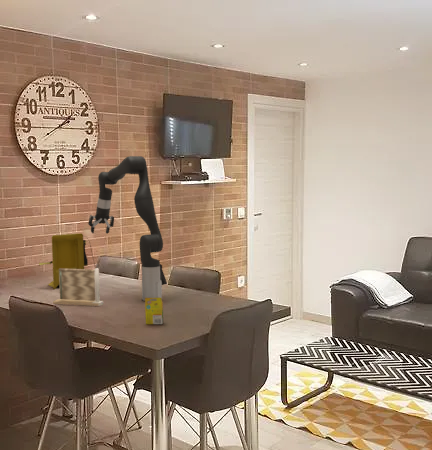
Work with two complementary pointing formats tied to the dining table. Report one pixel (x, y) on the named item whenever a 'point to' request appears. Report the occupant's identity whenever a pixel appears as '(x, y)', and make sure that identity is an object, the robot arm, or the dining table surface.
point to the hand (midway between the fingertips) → (99, 233)
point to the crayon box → (154, 311)
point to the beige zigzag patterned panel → (77, 284)
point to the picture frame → (82, 302)
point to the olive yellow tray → (67, 254)
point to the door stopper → (162, 276)
